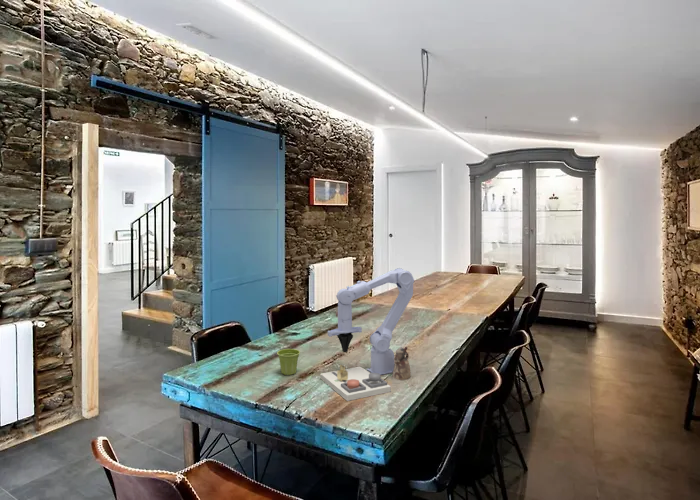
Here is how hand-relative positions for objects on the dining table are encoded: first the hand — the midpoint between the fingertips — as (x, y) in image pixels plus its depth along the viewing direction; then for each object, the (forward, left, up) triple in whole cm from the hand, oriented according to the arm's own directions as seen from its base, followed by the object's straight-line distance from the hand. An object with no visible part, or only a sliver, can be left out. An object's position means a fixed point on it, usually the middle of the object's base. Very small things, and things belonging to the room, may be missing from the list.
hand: (344, 351), depth 177 cm
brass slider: (+6, +10, -7) cm, 14 cm away
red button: (+6, +19, -7) cm, 21 cm away
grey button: (-3, +19, -6) cm, 20 cm away
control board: (+2, +12, -9) cm, 15 cm away
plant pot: (+20, -12, -10) cm, 25 cm away
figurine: (-19, +13, -10) cm, 25 cm away
